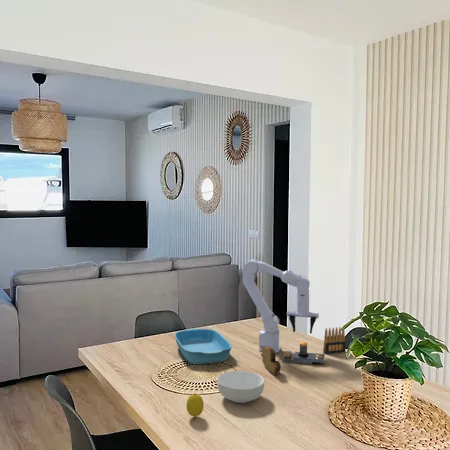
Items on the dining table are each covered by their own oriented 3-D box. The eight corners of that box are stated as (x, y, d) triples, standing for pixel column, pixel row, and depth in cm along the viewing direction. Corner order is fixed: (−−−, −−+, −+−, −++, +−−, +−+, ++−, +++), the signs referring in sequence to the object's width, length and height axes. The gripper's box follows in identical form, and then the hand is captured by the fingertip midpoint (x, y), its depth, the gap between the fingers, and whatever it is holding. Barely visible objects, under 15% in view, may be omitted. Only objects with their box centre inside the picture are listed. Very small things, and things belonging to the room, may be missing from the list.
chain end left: (281, 361, 198) (281, 354, 197) (284, 355, 205) (284, 349, 205) (311, 364, 194) (311, 357, 194) (313, 358, 202) (313, 351, 202)
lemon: (186, 413, 148) (186, 390, 148) (203, 413, 149) (203, 389, 148) (186, 421, 143) (186, 397, 142) (203, 421, 143) (203, 396, 143)
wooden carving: (285, 377, 180) (285, 352, 179) (274, 378, 178) (275, 354, 178) (266, 363, 195) (266, 340, 195) (257, 364, 194) (257, 342, 193)
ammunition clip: (343, 350, 212) (344, 325, 212) (345, 352, 211) (346, 326, 210) (323, 352, 210) (323, 327, 209) (325, 354, 208) (325, 328, 207)
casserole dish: (238, 364, 194) (238, 348, 194) (187, 370, 187) (187, 353, 187) (213, 340, 229) (213, 326, 229) (170, 344, 222) (170, 330, 222)
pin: (299, 361, 198) (299, 343, 198) (299, 359, 201) (300, 341, 201) (306, 362, 197) (307, 344, 197) (307, 359, 200) (307, 342, 200)
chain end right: (293, 362, 196) (293, 356, 196) (295, 356, 204) (295, 350, 204) (323, 365, 193) (323, 358, 193) (324, 359, 201) (324, 352, 200)
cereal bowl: (249, 413, 149) (249, 392, 148) (207, 401, 158) (208, 381, 157) (272, 395, 163) (272, 376, 163) (233, 385, 172) (233, 367, 172)
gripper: (286, 304, 207) (285, 333, 208) (318, 306, 203) (317, 336, 204) (288, 301, 214) (287, 329, 215) (319, 303, 210) (318, 331, 211)
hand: (302, 332), depth 210 cm, fingers open, 7 cm apart
